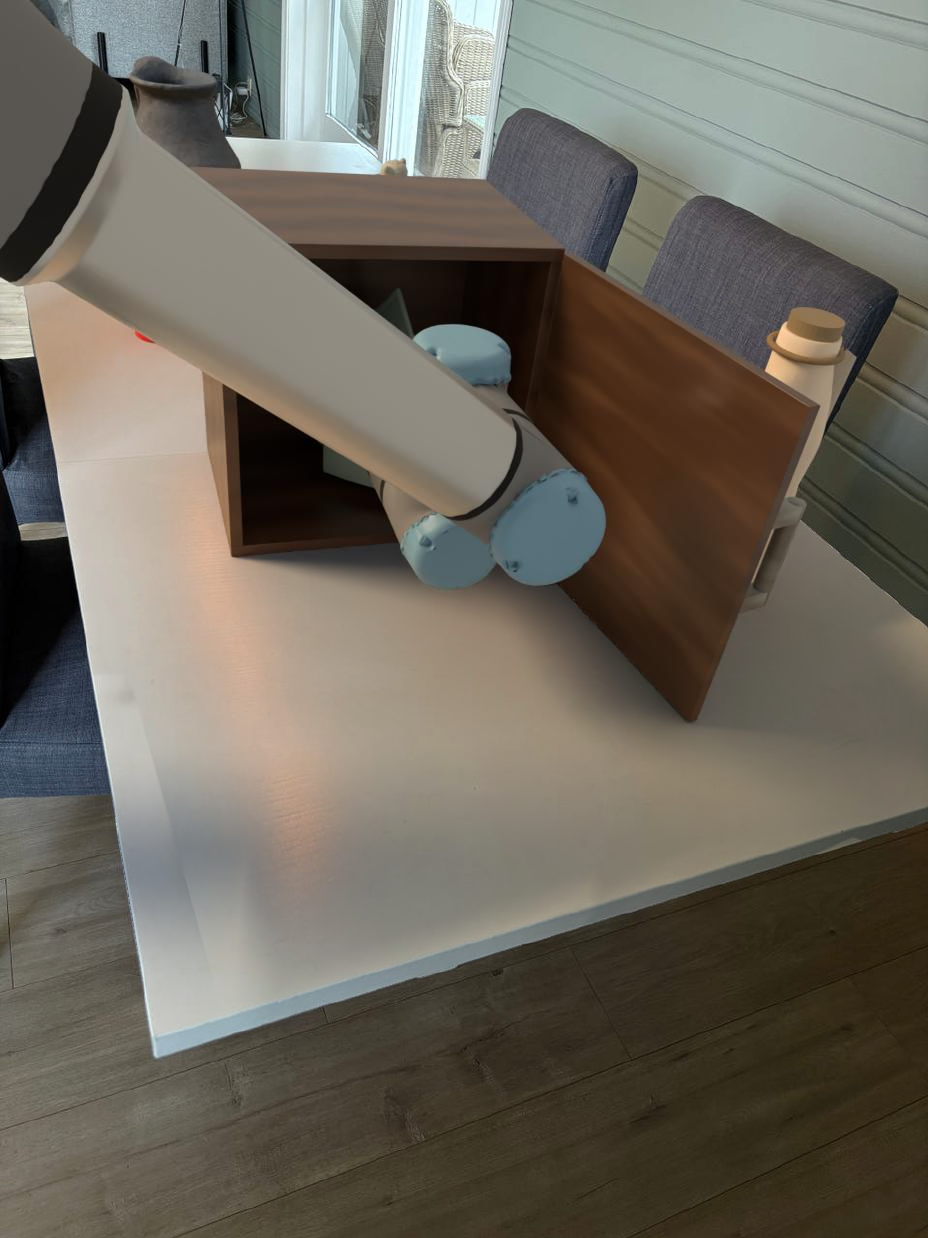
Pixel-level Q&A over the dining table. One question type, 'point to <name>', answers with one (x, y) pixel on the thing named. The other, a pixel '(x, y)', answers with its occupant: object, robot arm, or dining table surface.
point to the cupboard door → (669, 475)
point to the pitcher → (181, 113)
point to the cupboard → (371, 270)
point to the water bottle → (810, 372)
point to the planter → (332, 460)
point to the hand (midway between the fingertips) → (352, 355)
